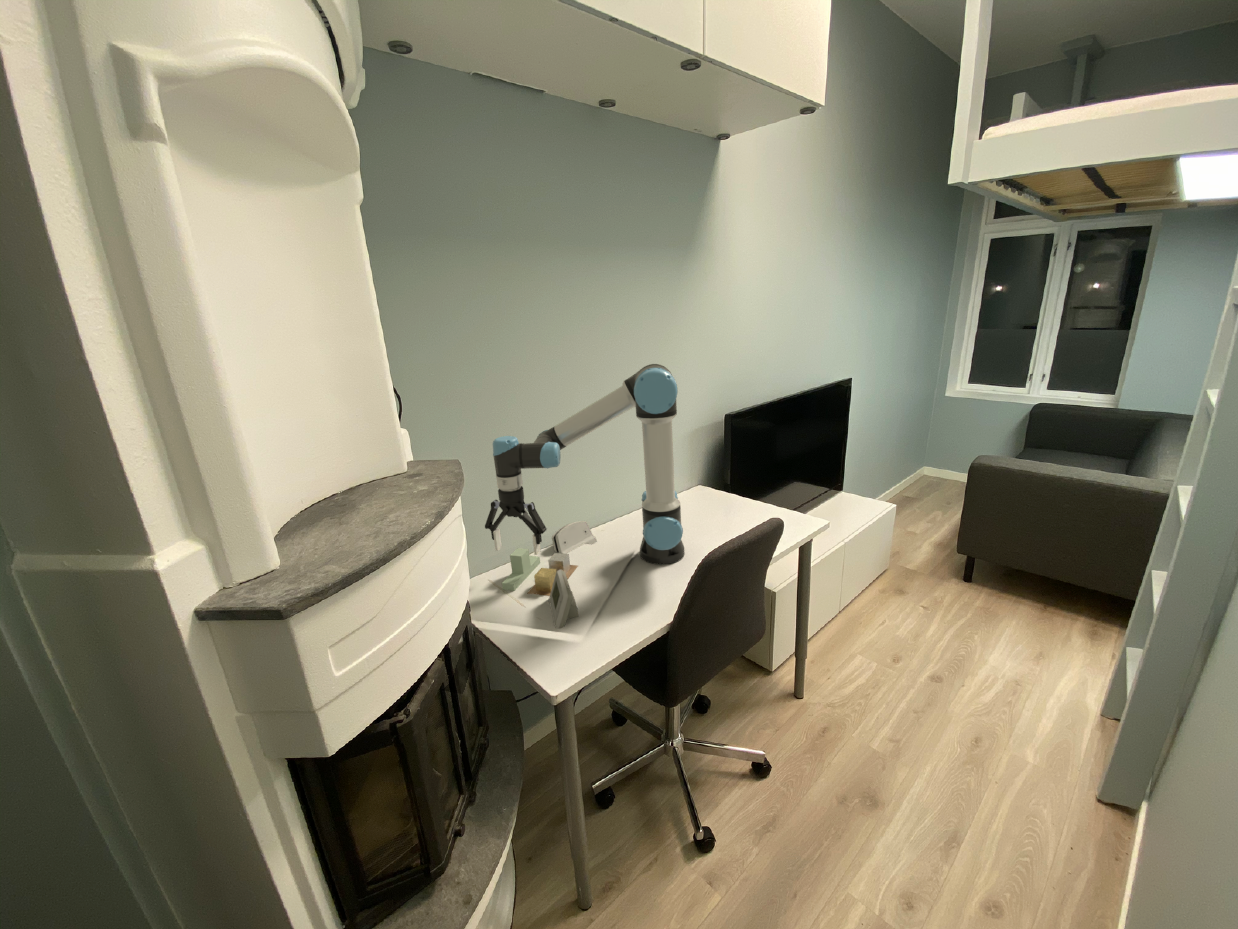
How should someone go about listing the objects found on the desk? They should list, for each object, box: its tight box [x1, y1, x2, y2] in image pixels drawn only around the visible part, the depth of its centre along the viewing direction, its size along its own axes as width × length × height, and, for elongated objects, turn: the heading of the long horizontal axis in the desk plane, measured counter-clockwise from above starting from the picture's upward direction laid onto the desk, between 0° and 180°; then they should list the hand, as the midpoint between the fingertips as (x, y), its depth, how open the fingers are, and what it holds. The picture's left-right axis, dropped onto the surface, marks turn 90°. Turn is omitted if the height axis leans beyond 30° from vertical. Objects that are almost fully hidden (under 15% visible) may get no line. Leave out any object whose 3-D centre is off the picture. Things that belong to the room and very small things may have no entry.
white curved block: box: [551, 520, 598, 554], centre depth 185 cm, size 17×5×10 cm, turn 140°
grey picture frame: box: [548, 570, 579, 629], centre depth 144 cm, size 16×9×11 cm, turn 2°
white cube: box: [547, 552, 571, 574], centre depth 166 cm, size 5×5×5 cm
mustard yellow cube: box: [533, 567, 557, 592], centre depth 157 cm, size 5×5×5 cm
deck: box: [526, 564, 579, 597], centre depth 163 cm, size 9×19×2 cm, turn 162°
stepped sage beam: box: [501, 547, 541, 592], centre depth 165 cm, size 4×18×10 cm, turn 162°
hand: (517, 551), depth 163 cm, fingers open, 13 cm apart
